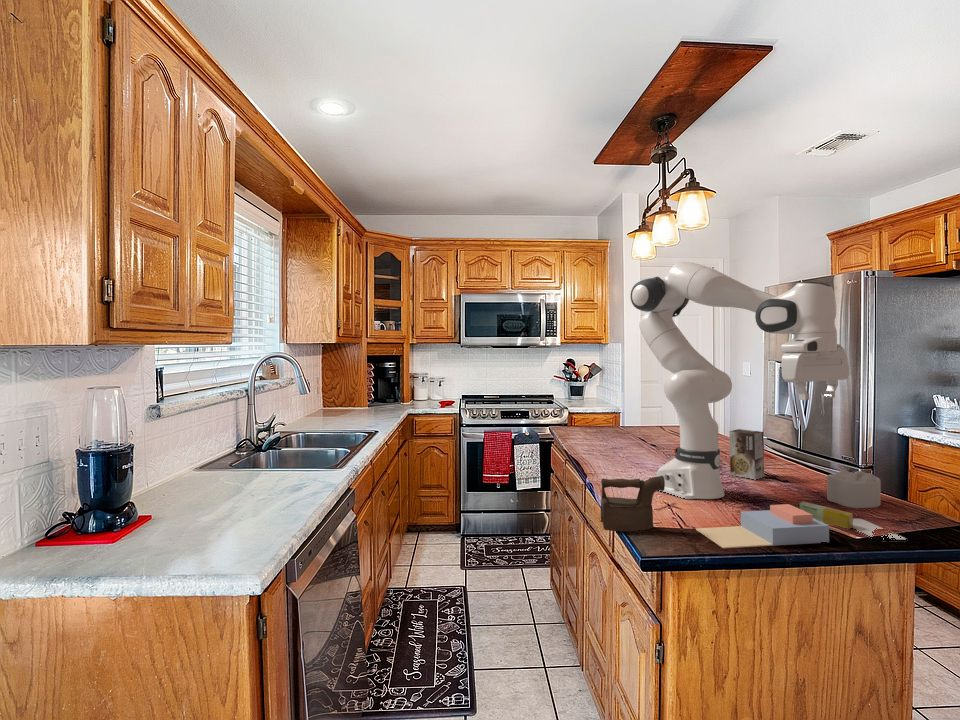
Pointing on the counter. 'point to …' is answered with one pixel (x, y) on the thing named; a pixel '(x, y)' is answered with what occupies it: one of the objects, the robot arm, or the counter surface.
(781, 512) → the salmon pink block
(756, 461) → the coffee box
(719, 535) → the mat
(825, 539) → the grey flat block
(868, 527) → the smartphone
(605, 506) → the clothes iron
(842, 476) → the lumpy-topped squat cylinder
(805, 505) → the medication box
